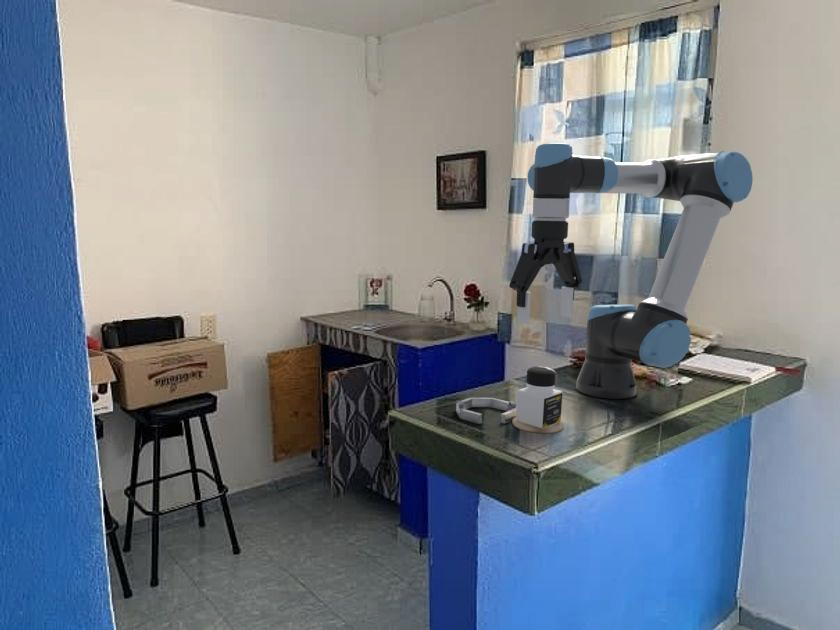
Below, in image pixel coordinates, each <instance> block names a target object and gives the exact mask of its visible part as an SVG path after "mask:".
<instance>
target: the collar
mask: <svg viewBox="0 0 840 630" xmlns="http://www.w3.org/2000/svg"><path fill="white" fill-rule="evenodd" d="M455 406H456V407H455V409H456V410H455V412H456V414H457V415H458V418H459V419H461V420H463V421H468V422H471V423H475V424H482V423H483V413H480V412H476V411H473V410H469V409H471V408H494V409H497V410H501V411H505V412H503V413H501V415H500V423H501V424H504V425H505V424H508V423H510V422H512V420H513V418H514V417H516V408H517V403H515V401H514V400H509V401H508V400H502V399H500V398H499V399H498V398H494V397H468V398H465V399H463V400H457V402H456V405H455Z"/></svg>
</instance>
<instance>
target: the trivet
mask: <svg viewBox="0 0 840 630" xmlns="http://www.w3.org/2000/svg"><path fill="white" fill-rule="evenodd" d="M511 423H512V425H513V427H515V428H517V429H519V430H521V431H524V432H528V433H534V434H554V433H558V432H561V431H562V430H564V426H565V425H564V422H563V421H562V420H561V421H560V422H559V423H557V424H554V425H552V426H549V427H547V428H544V429H540V428H537V427H534V426H531V425H527V424H524V423H521V422H518V421H516V417H514V418H513V420H512V421H511Z"/></svg>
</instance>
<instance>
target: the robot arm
mask: <svg viewBox="0 0 840 630" xmlns="http://www.w3.org/2000/svg"><path fill="white" fill-rule="evenodd" d="M753 177H754V176H753V171H752V168H751V164H750V162H749V161H748V158H746V157H745V156H744V154H742V153H740V152H736V151H725V150H721V151H718V152H709V153H708V152H707V153H697V154H696V153H695V154H694V153H693V154H684V155H677V156H672V157H668V158H666V157H665V158H660V159H657V158H652V159H647V160H645V161H644V162H619V161H617V162H616V161H615V160H614V159H612V158H610V157H603V156H601V155H600V156H593V155H592V156H589V155H574V152H573V146H572V145H571V144H570V143H564V142H563V143H562V142H548V143H542V144H539V145H538V146H537V147H536V149H535V154H534V162H533V164H532V165H531V166H530V168H529V170H528V171H527V177H526V178H527V184H528V186H529V188H530V189H531V191H533V194H532V218H533V219H534V220H533V221H532V222H531V233H530V235H531V237H532V239H533V243H529V242H524V243H522V245H521V253H520V256H519V259H518V261H517V264H516V267H515V270H514V271H513V274H512V277H511V280H510V283H509V286H508V287H509V288H510V289H512V290H513V291H515V292H516V307H517V316H516V317H517V318H516V319H517V320H516V321H517V322H519V323H524V324H530V317H531V316H530V315H531V314H530V311H531V293H532V292H531V291H529V289H530V287H531V285H532V284H533V283H534V281H535V279H536V277H537V276H538V274H539V272H540V270H541V269H542V268H543V267H544V266H546V265H553V266H554V268H555V270H556V272H557V274H558V276H559V277H560V279H561V281H562V282H563V285H564V286H561V292H560V294H561V295H560V309H559V310H560V312H559V316H561V317H566V318H572V317H573V303H574V299H575V289H576V288H579V286H580V284H582V283H583V279H582V275H581V271H580V268H579V265H578V261H577V256H576V253H575V243H574V242H570V241H565V240H566V239H567V238H568V235H569V222H568V221H567V220H566V219H569V217H570V204H571V203H570V199H571V196H570V195H571V194H639V195H641V196H643V197H644V198H649V199H651V198H652V199H654V198H656V199H663V200H670V201H671V200H672V201H676V202H677V201H678V202H680V203H681V206H682V207H683V210H682V211H681V215H680V217H679V220H678V222H677V225H676V228H675V230H674V232H673V234H672V238H671V240H670V242H669V244H668V247H667V250H666V252H665V255H664V258H663V260H662V263H661V264H660V268H659V270H658V273H657V276H656V277H655V280H654V283H653V285H652V288H651V291H650V293H649V296H648V297H647V298H646V299H644V300H641V301H639V302H638V306H636V305H635V304H598V305H597V304H596V305H593V306H591V307H590V308H589V311H588V317H587V324H586V338H585V339H586V342H585V343H586V344H585V356H584V358H585V360H584V362H583V365H582V367H581V369H580V371H579V374H578V377H577V379H576V383H575V385H576V386H575V388H576V390H577V391H578V392H580V393H582V394H585V395H587V396H592V397H596V398H601V399H602V398H603V399H610V400H611V399H612V400H619V399H620V400H622V399H629V398H633V397H635V396H636V394H637V383H636V382H637V381H636V379H635V375H634V370H633V366H632V361H636V362H640V363H643V364H645V365H647V366H649V367H651V366H652V367H658V368H670V367H672V366H673V365H676V364H677V363H679V362H680V361H681V360H682V359H683V358H684V357H685V356H686V354H687V352H688V350H689V348H690V346H691V343H692V337H691V335H692V332H691V329H690V327H689V326H688V324H687V323H688V321H689V317H688V316H687V313H686V311H685V309H686V306H687V304H688V302H689V299H690V297H691V294H692V291H693V289H694V287H695V283H696V280H697V278H698V275H699V273H700V271H701V269H702V266H703V263H704V261H705V258H706V256H707V253H708V250H709V249H710V245H711V243H712V240H713V238H714V235H715V233H716V231H717V228H718V225H719V223H720V220H721V219H722V218H724V217H726V216H728V215H730V213H731V212H732V208H733V206H734V203H739V202H742V201H744V200H745V199H746V198H747V197H748V196H749V195H750V192H751V191H752V186H753V181H754V179H753Z"/></svg>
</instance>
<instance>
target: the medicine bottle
mask: <svg viewBox="0 0 840 630" xmlns="http://www.w3.org/2000/svg"><path fill="white" fill-rule="evenodd" d="M525 382H526V384H525V385H526V387H523V388H520V389H518V390H517V394H516V421H518V422H521V423H524V424H527V425H531V426H534V427H537V428H540V429H544V428H547V427H549V426H552V425H554V424H557V423H559V422H560V421H562V420H561V419H562V405H563V391H562V390H559V389H555V384H556V371H555V370H554V369H552V368H550V367H547V366H533V367H532V366H531V367H530V368H528V369H527V370H526V381H525Z"/></svg>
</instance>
